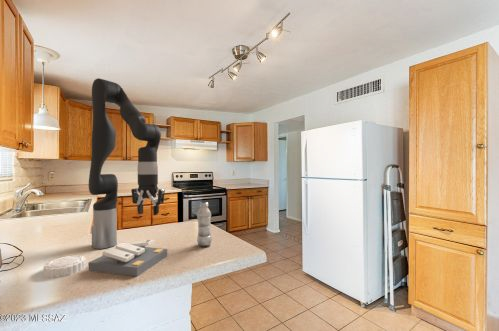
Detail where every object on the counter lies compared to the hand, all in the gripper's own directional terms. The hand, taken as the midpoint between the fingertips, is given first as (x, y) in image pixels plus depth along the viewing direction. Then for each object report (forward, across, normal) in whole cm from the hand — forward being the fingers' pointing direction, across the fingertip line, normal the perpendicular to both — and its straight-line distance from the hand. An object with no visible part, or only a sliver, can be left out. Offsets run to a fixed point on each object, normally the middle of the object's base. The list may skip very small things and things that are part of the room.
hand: (148, 214), depth 96 cm
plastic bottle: (+18, +17, +18) cm, 30 cm away
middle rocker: (+12, -4, -6) cm, 14 cm away
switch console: (+18, -4, -6) cm, 19 cm away
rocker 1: (+12, -4, -12) cm, 17 cm away
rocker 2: (+12, -4, 0) cm, 13 cm away
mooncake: (+18, -22, -16) cm, 33 cm away
